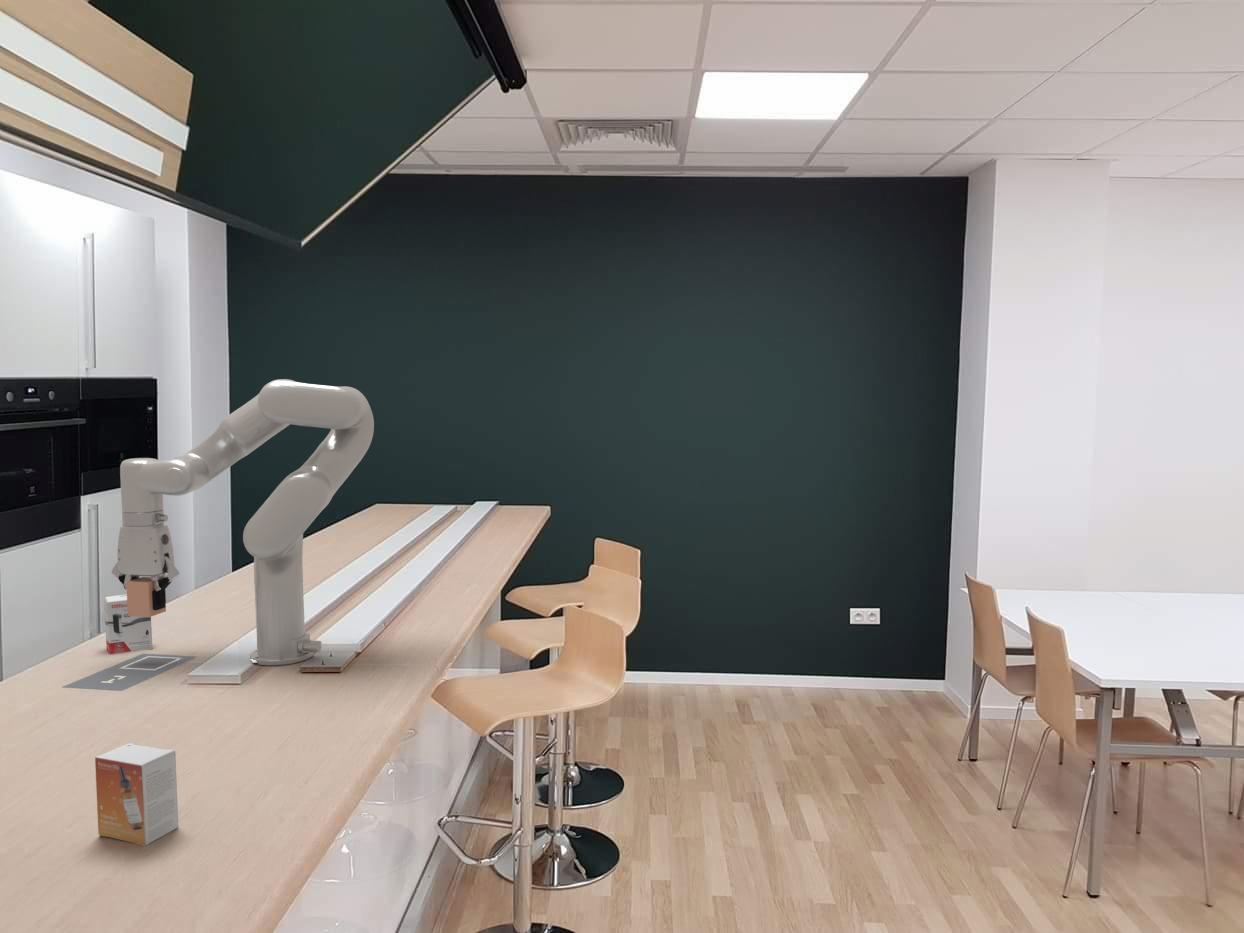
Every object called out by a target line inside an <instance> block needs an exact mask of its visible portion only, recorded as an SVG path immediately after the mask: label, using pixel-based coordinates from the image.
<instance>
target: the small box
mask: <svg viewBox="0 0 1244 933" xmlns="http://www.w3.org/2000/svg"><path fill="white" fill-rule="evenodd" d="M176 757H177V756H176V750H174V749H164V748H160V747H159V748H158V747H152V746H146V745H141V744H136V743H133V742H132V743H131V742H129V743H126V744H123V745H121V746H118V747H117V748H115V749H112V750H109V751H106V752H105V753H102V754H100V755H97V756H95V758H94V763H95V784H96V787H95V788H96V789H95V790H96V803H97V804H96V810H97V827H98V828H97V832H98V836H101V837H107V838H112V839H115V840H119V841H120V840H121V841H125V842H128V843H133V844H136V845H140V846H143V847H145V846H147V845H149V844H151V843H152V842H154V841H157V840H158V839H160V838H162V837H164V836H165V835H167V834H168V833H169V834H170V833H171V832H173V831H174V830H176V829H178V828H179V810H178V808H179V807H178V804H179V803H178V786H177V785H178V783H177V782H178V779H177V760H176Z"/></svg>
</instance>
